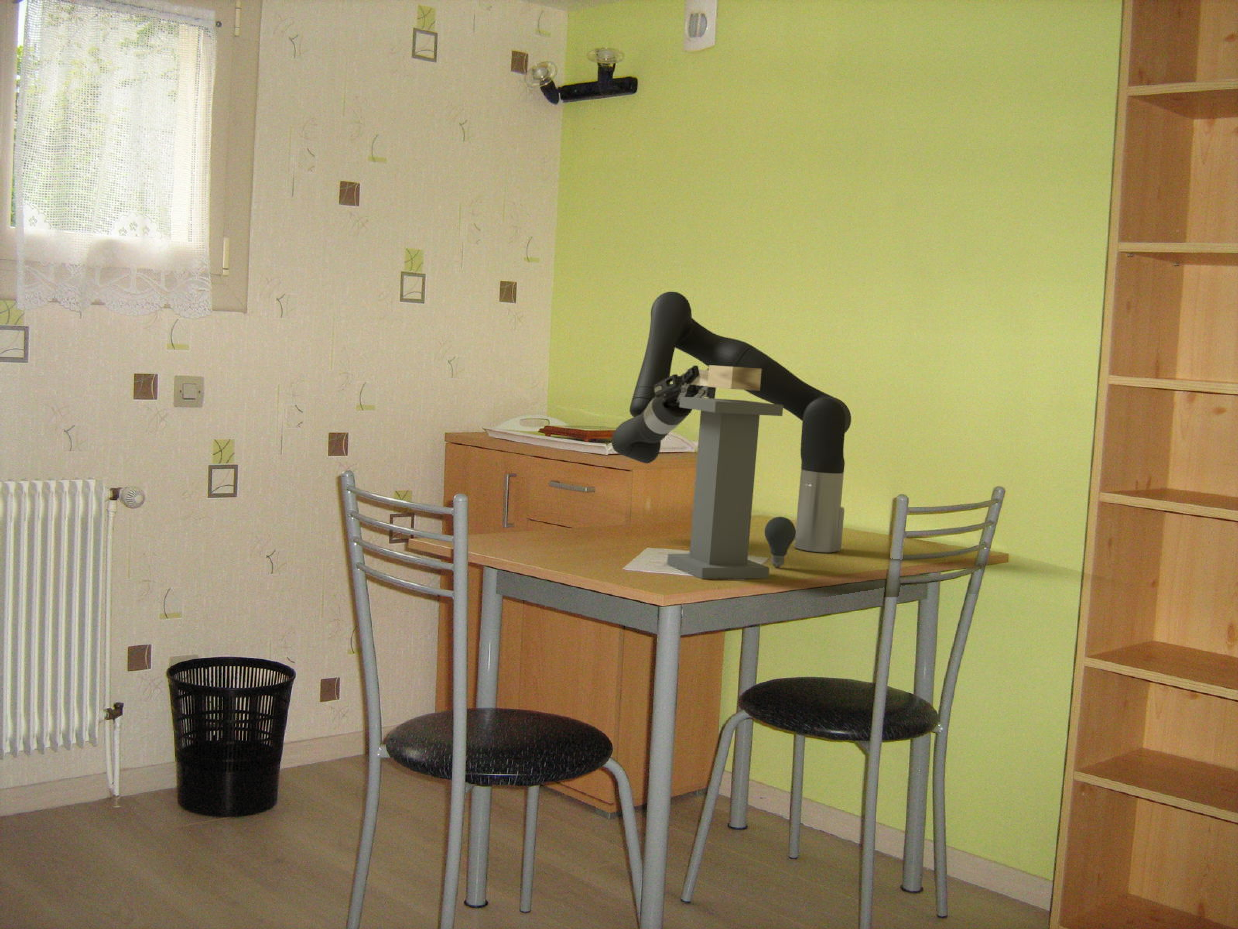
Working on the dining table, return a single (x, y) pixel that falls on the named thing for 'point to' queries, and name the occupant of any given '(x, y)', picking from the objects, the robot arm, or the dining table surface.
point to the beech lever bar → (729, 378)
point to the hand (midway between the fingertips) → (705, 370)
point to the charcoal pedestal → (724, 489)
